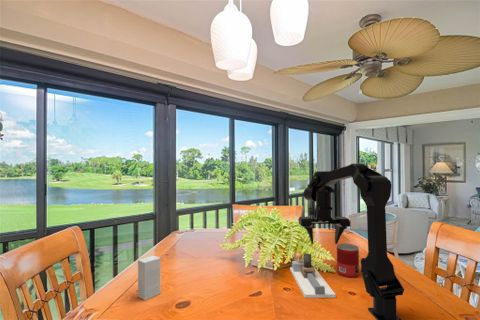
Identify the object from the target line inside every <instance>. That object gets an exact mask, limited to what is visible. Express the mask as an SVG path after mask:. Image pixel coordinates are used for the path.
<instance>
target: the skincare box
mask: <svg viewBox="0 0 480 320" xmlns="http://www.w3.org/2000/svg"><path fill="white" fill-rule="evenodd" d="M161 259H162V258H161V257H159V256H157V255H151V256H148V257H144V258H143V257H142V258H140V259H138V260H137V296H138V298H140V299H141V300H143V301H147V300H149V299H151V298H154V297H156V296H158V295H160V294H161V291H162V290H161V287H162V284H161V277H162V276H161V272H162V271H161V270H162V269H161V268H162V267H161Z"/></svg>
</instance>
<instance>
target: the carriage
mask: <svg viewBox="0 0 480 320" xmlns="http://www.w3.org/2000/svg"><path fill="white" fill-rule="evenodd" d="M303 261H304V264H300V268H301V273H302V275H303V276H304V277H306V272H311V273H312V274H313V276H314V277H315V269H316V268H315V267H314V265H313V264H312V254H311V253H303Z"/></svg>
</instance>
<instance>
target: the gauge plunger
mask: <svg viewBox="0 0 480 320" xmlns="http://www.w3.org/2000/svg"><path fill="white" fill-rule="evenodd" d="M300 253H301V252H296V253H295V259H297V260H302V259H303V253H302V254H300Z"/></svg>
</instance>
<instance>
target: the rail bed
mask: <svg viewBox="0 0 480 320" xmlns="http://www.w3.org/2000/svg"><path fill="white" fill-rule="evenodd" d="M300 264H304V260H296V261H295V260H294V261H293V260H292V261H291V266H290V268H289V271H290V273H291V274H292V276H293V278H294V281H295V282H296V284H297V285H298V288H299V289H300V292H301V293H302V295H303V296H304V298H305V299H314V298H315V299H317V298H318V299H319V298H320V299H321V298H322V299H323V298H325V299H326V298H329V299H331V298H336V296H337V295H336V293H335V292H334V291H333V289H332V288H331V287H330V286H329V284H328V283H327V281H326V280H325V279H324V278H323V276H322V275H321V274H320V273H319V271H318V270H317V269H316V268H315V277H314V276H313V274H312V273H311V272H306V277H304V276H303V275H302V273H301V268H300Z"/></svg>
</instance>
